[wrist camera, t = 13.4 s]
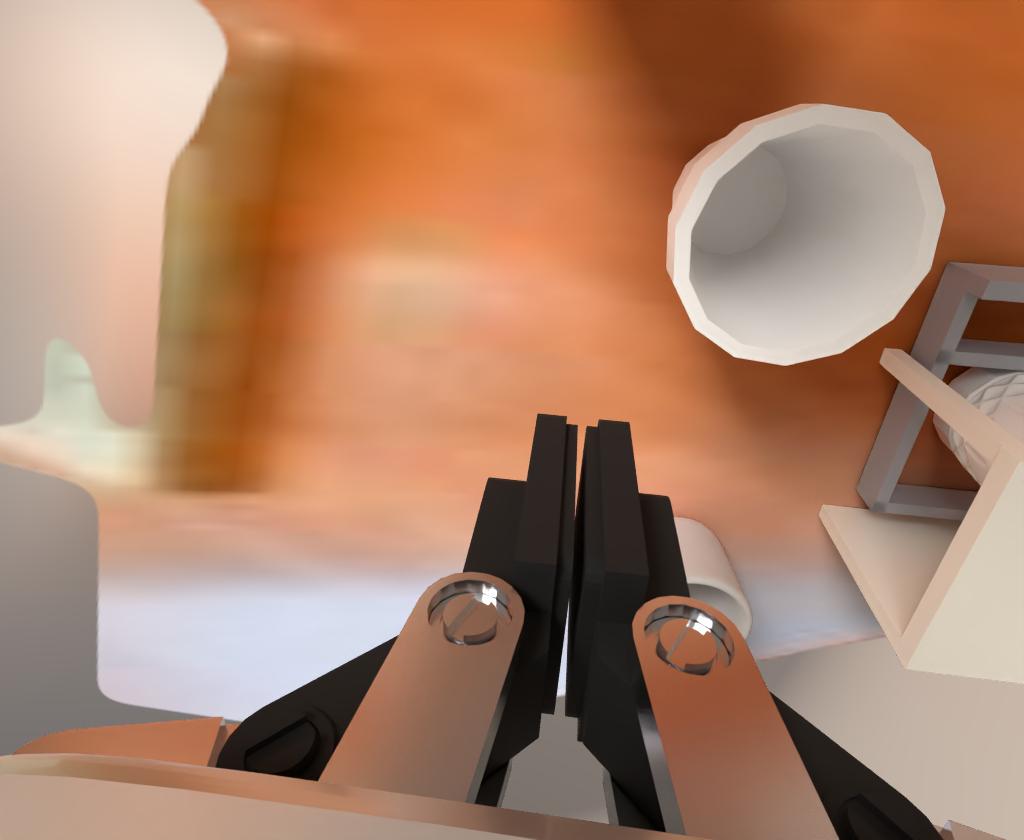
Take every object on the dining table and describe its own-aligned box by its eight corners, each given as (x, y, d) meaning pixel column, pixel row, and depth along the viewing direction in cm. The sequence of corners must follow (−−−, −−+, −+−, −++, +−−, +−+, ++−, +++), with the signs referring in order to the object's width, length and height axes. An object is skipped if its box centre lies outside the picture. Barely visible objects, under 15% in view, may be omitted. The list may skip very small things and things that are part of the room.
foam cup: (646, 112, 32) (679, 117, 20) (829, 95, 30) (974, 89, 19) (644, 286, 36) (669, 369, 25) (803, 277, 35) (908, 361, 23)
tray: (947, 261, 33) (990, 280, 30) (1187, 278, 32) (1261, 300, 29) (855, 489, 41) (881, 525, 37) (1047, 508, 40) (1092, 547, 36)
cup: (576, 564, 47) (574, 645, 40) (599, 485, 43) (601, 558, 36) (708, 591, 47) (729, 676, 40) (742, 514, 43) (773, 593, 36)
